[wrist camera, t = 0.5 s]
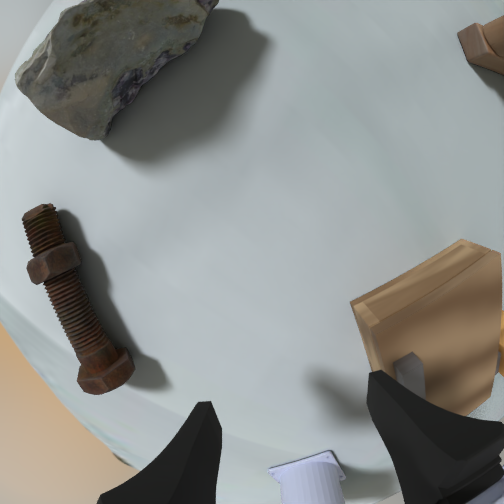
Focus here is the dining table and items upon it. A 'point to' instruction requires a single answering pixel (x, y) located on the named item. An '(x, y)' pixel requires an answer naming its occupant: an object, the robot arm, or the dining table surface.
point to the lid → (448, 339)
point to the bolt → (73, 303)
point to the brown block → (501, 346)
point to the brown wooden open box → (411, 289)
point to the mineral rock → (106, 58)
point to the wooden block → (485, 44)
